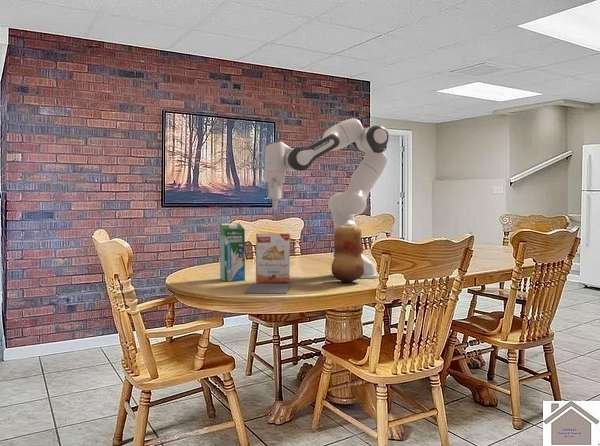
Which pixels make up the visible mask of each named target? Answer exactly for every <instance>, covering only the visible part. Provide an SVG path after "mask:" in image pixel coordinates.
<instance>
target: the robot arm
mask: <svg viewBox="0 0 600 446" xmlns="http://www.w3.org/2000/svg"><path fill="white" fill-rule="evenodd" d="M389 137H390V135H389V132H388V130H387V128H386V127H384V126H381V125H372V126H369V127H366V128H365V127H364V126H363V124H362V123H361V121H360V120H359V119H358V118H354V117H353V118H349V119H345V120H342V121H341V122H340V121H339V122H338V123H336V124H334V125H332V126H331V127H329V128H328V129H327V130H326V131H324V133H323V135H322V138H321V139H319V140H318V141H315V142H313V143H312V144H310V145H308V146H297V147H295V148H292V147H290V146H288V145H287V144H286V143H285V142H283V141H280V140H279V141H273V142H269V143H268V144H267V145H266V147H265V151H264V163H265V170H264V183H267V186H268V191H267V192H268V195H267V196H268V200H271V201H272V202H271V203H272V210H274V211H275V210H276V211H277V210H278V208H279V207H278V205H279V200H282V196H283V188H284V187H283V184H284V183H286V171H289V172H298V171H299V172H302V171H306V170H308V169H309V168H310V167H311V166H312V164H313V163H314V162H315V160H317V159H318V158H320V157H321V156H324V155H325V154H327V153H329V152H335V151H339V150H341V149H343V148H346V147H348V146H349V145H351V144H352V145H353V147H354V148H355V150H356V151H358V152H359V153H364V157H363V159H362V160H361V162H360V163H359V164H358V166H357V167H356V169H355V170H354V172H353V173H352V175H351V176H350V178H349V179H350V181H349V184H348V187H347V188H346V189H345V191H342V192H341V191H339V192H336V193H334V194H333V195H331V196H330V197H329V199H328V201H327V202H328V203H327V205H328V209H329V211H330V213H331V216H332V217H331V218H332V222H333V227H334V231H335V230H336V228H337V227H338V226H340V225H344V224H355V225H357V223H356V220H355V216H356V217H357V216H358V215H361V214H362V213H364V212H365V211H366V209H367V205H368V204H367V200H368V198H369V195H370V192H371V190H372V189H373V188H374V185H375V184H376V183H377V181H378V180H379V178H380V177H381V175H382V173H383V172H384V170H385V168H386V165H387V163H388V157H387V154H386V153H385V151H386V150H387V146H388V141H389V140H390V139H389ZM364 251H365V248H364V247H363V246H362V251H361V256H362V259H363V263H364V274H363V275H362V276H361V277H360V278H359V279H376V278H377V279H378V278H379V277H378V275H377V272H378V271H376V267H375V263H374V262H373V261H372V259H370V258H369V257H368V256H366V255H365V254H363V252H364ZM334 257H335V245H333V258H334ZM330 276H332V277H334V275H333V274H332V273H331V274H330Z"/></svg>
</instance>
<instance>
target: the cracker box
mask: <svg viewBox="0 0 600 446" xmlns="http://www.w3.org/2000/svg"><path fill="white" fill-rule="evenodd" d="M255 238H256V239H255V240H256V242H255V283H290V265H291V263H290V261H291V260H290V257H291V256H290V255H291V254H290V253H291V252H290V251H291V234H290V233H276V232H275V233H272V232H271V233H270V232H269V233H268V232H267V233H265V232H264V233H256V234H255Z"/></svg>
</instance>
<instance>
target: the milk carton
mask: <svg viewBox="0 0 600 446" xmlns="http://www.w3.org/2000/svg"><path fill="white" fill-rule="evenodd" d="M245 233H246V231H245V228H244V227H243V226H242V224H240V223H239V222H237V223H236V222H235V223H226V222H225V223H219V260H220V261H219V262H220V263H219V264H220V265H219V267H220V268H219V272H220V273H219V274H220V275H219V277H220V280H221V281H223V282H240V281H242V280H243V281H246V248H245V247H246V246H245V245H246V243H245V242H246V241H245V240H246V238H245V235H246V234H245ZM243 281H242V282H243Z"/></svg>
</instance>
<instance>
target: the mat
mask: <svg viewBox="0 0 600 446" xmlns="http://www.w3.org/2000/svg"><path fill="white" fill-rule="evenodd" d="M290 286H291V283H290V282H289V283H257V282H253V283H251V284H250V285H249V287H248V288H246V289H245V291H243V294H258V295H260V294H261V295H266V294H267V295H269V294H271V295H272V294H273V295H278V294H279V295H286V294H287V293H288V291H289V288H290Z"/></svg>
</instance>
